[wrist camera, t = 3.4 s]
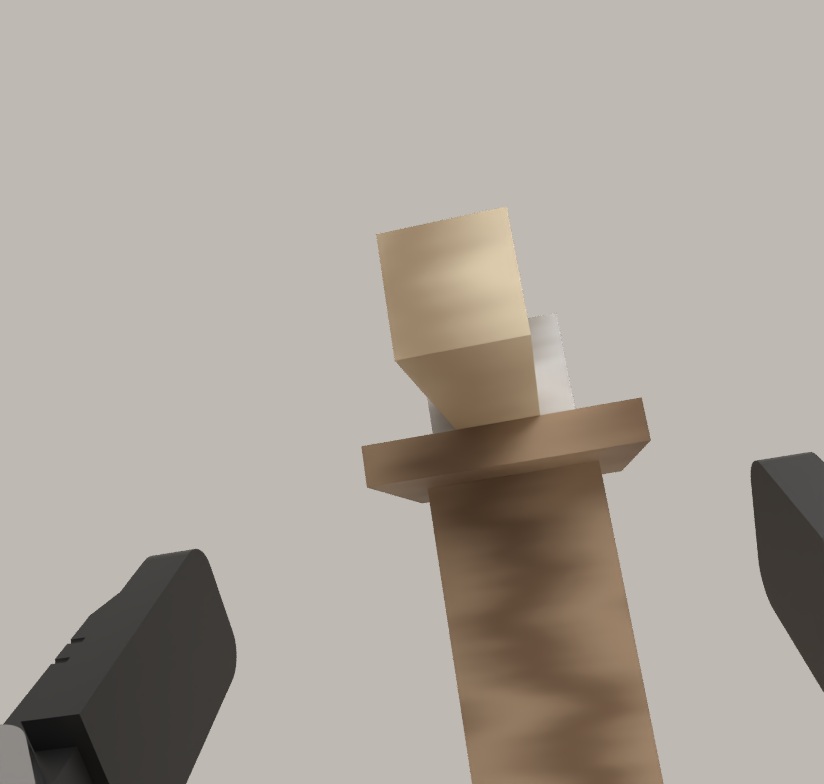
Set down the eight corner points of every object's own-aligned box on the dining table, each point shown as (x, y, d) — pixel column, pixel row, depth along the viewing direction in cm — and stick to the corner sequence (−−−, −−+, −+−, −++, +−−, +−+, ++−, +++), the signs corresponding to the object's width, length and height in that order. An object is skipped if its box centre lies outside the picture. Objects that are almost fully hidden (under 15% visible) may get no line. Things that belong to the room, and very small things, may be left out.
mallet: (329, 372, 17) (303, 169, 18) (453, 465, 39) (438, 369, 40) (601, 321, 16) (557, 111, 17) (575, 445, 38) (556, 346, 39)
